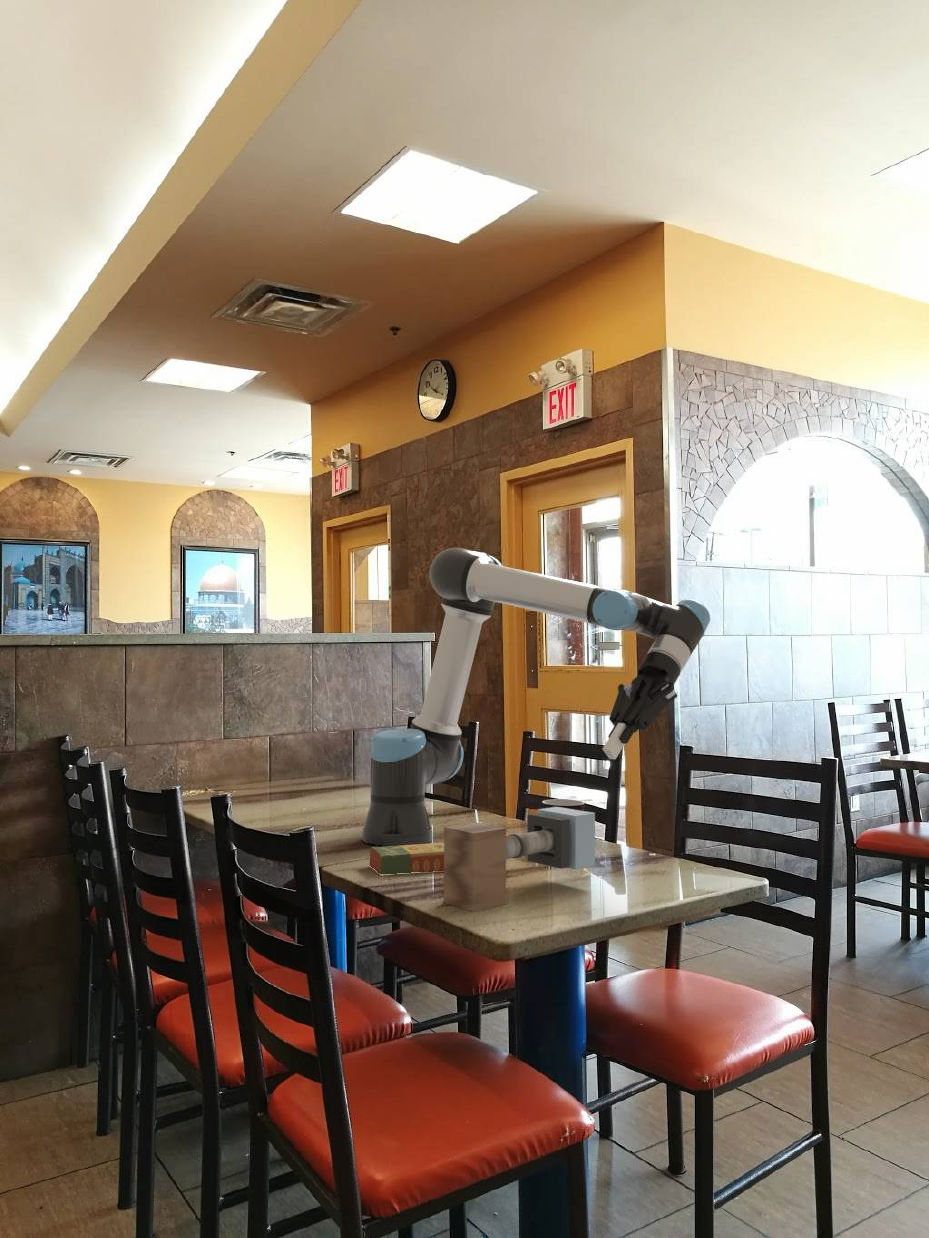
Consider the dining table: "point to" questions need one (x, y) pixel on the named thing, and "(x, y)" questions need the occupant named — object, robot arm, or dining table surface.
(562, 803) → the coffee mug
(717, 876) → the dining table surface
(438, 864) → the carton
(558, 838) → the dark gray square plate
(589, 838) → the sleeve
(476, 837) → the pipe mount
